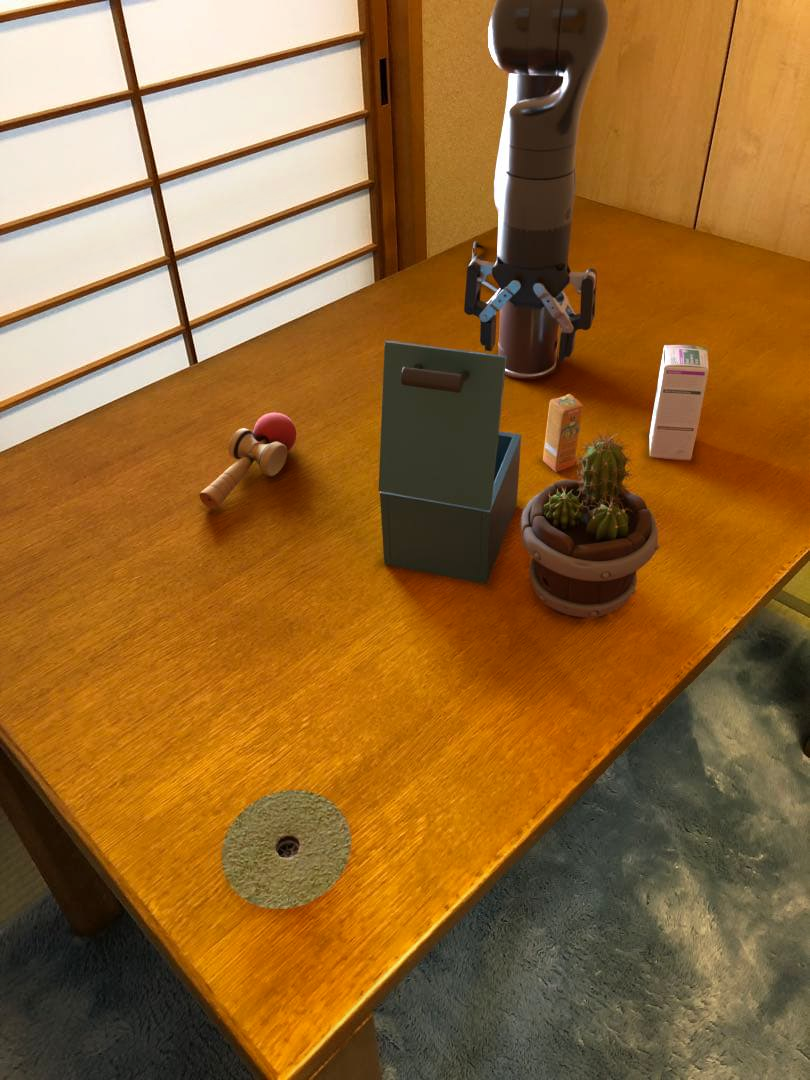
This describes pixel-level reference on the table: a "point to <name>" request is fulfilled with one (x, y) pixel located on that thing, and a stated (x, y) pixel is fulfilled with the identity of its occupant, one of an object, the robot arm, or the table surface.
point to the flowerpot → (589, 536)
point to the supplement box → (562, 432)
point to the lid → (440, 423)
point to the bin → (453, 525)
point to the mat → (286, 849)
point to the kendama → (253, 454)
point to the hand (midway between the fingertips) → (525, 352)
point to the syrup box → (678, 401)
